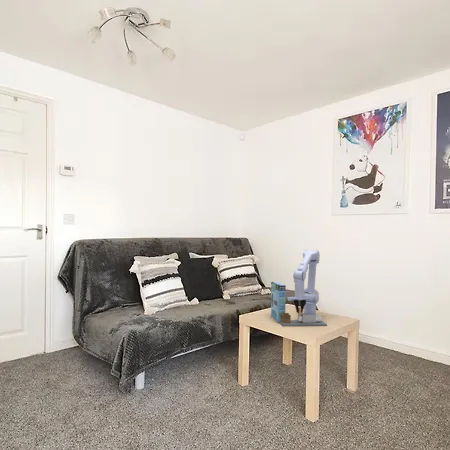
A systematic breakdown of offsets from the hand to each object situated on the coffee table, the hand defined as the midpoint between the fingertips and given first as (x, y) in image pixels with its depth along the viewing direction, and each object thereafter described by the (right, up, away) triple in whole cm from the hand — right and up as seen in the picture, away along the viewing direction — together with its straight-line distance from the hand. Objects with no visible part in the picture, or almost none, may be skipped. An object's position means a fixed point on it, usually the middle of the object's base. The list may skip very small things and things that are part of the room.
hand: (299, 312), depth 202 cm
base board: (+2, -7, 0) cm, 7 cm away
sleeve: (+5, -6, 0) cm, 8 cm away
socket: (-9, -7, -1) cm, 11 cm away
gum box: (-11, -8, +11) cm, 17 cm away
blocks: (+6, -5, 0) cm, 8 cm away
